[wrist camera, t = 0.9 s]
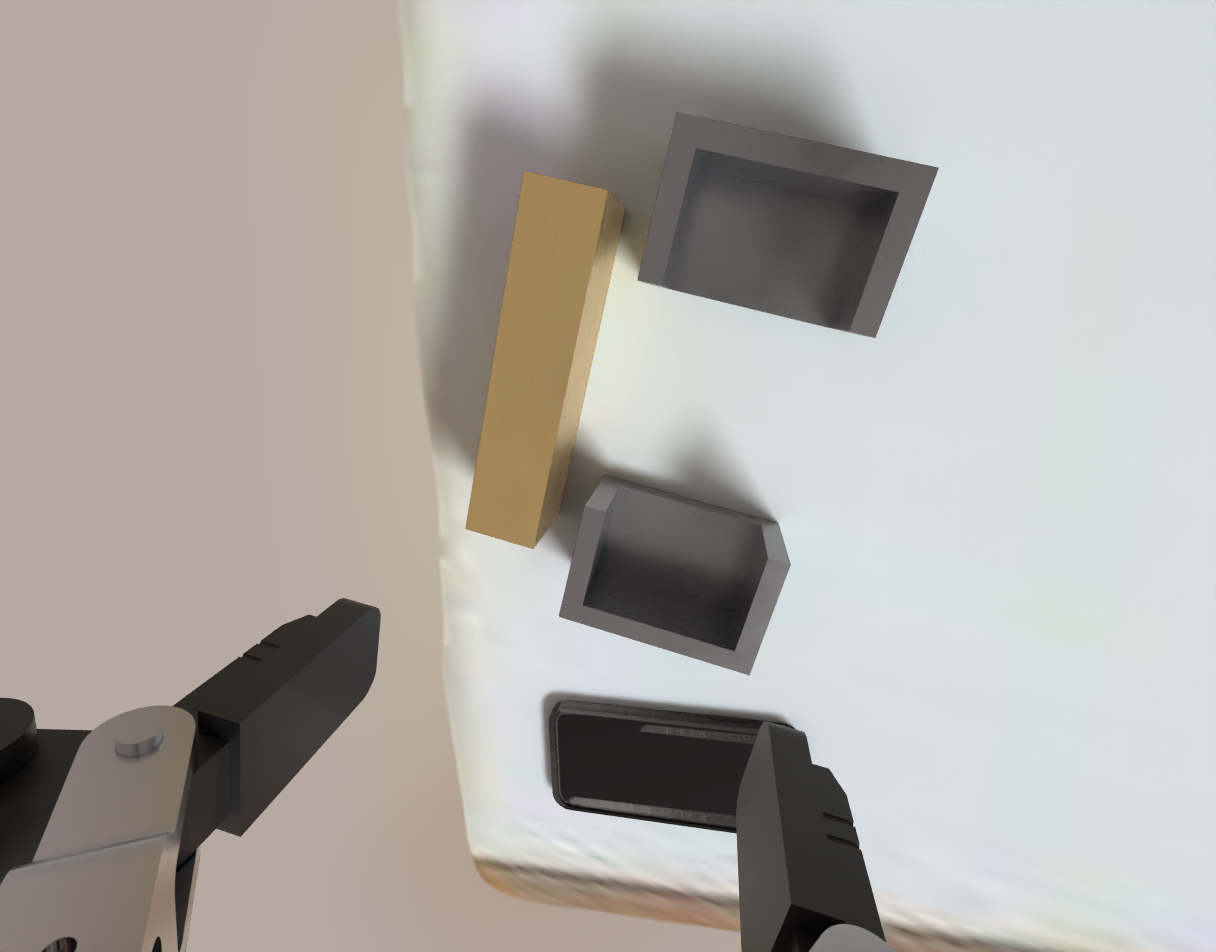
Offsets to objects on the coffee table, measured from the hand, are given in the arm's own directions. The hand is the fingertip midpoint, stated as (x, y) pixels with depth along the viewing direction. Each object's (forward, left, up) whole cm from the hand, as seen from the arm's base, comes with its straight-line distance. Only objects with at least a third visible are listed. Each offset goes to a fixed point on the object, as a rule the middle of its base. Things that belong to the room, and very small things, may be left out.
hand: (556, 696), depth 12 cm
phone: (+19, +6, -20) cm, 28 cm away
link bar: (-3, -6, -20) cm, 21 cm away
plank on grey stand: (-3, +2, -20) cm, 20 cm away
